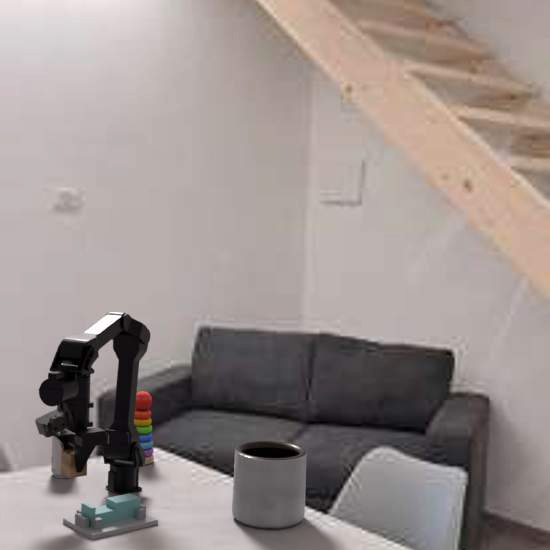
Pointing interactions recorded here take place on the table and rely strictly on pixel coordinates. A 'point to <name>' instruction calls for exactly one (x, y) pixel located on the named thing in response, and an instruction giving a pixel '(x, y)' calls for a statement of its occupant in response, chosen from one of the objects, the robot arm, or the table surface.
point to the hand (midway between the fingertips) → (74, 469)
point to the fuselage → (113, 509)
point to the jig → (109, 524)
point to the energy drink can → (56, 459)
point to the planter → (269, 484)
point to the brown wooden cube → (70, 464)
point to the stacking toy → (144, 423)
